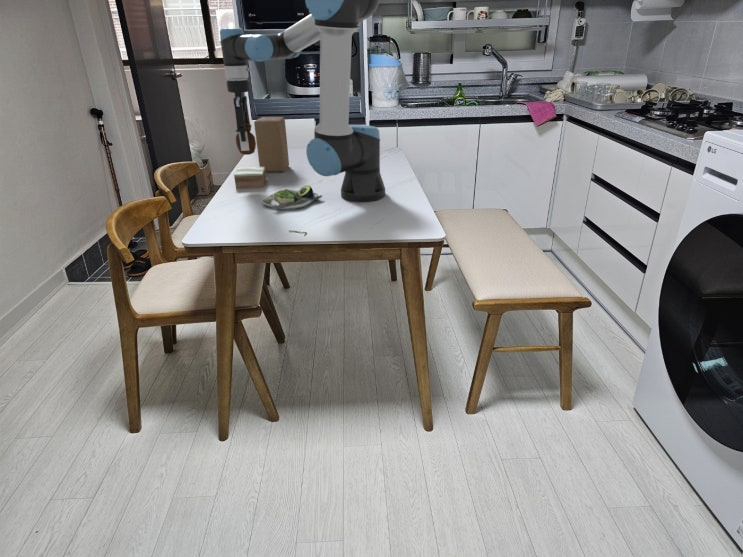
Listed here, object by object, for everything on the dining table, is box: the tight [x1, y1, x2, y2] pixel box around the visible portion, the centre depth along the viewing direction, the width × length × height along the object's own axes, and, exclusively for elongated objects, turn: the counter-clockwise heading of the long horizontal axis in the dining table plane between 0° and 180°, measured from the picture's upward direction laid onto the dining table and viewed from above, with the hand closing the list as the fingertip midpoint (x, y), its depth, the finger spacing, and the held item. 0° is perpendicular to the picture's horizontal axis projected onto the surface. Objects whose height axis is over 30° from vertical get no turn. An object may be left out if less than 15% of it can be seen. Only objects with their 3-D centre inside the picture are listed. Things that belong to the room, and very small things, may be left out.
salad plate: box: [261, 185, 323, 211], centre depth 158 cm, size 19×18×5 cm
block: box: [253, 116, 290, 173], centre depth 194 cm, size 10×10×20 cm
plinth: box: [233, 166, 267, 189], centre depth 179 cm, size 10×10×5 cm
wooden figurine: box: [235, 117, 257, 156], centre depth 171 cm, size 7×6×15 cm
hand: (246, 148), depth 174 cm, fingers closed on wooden figurine, 7 cm apart
